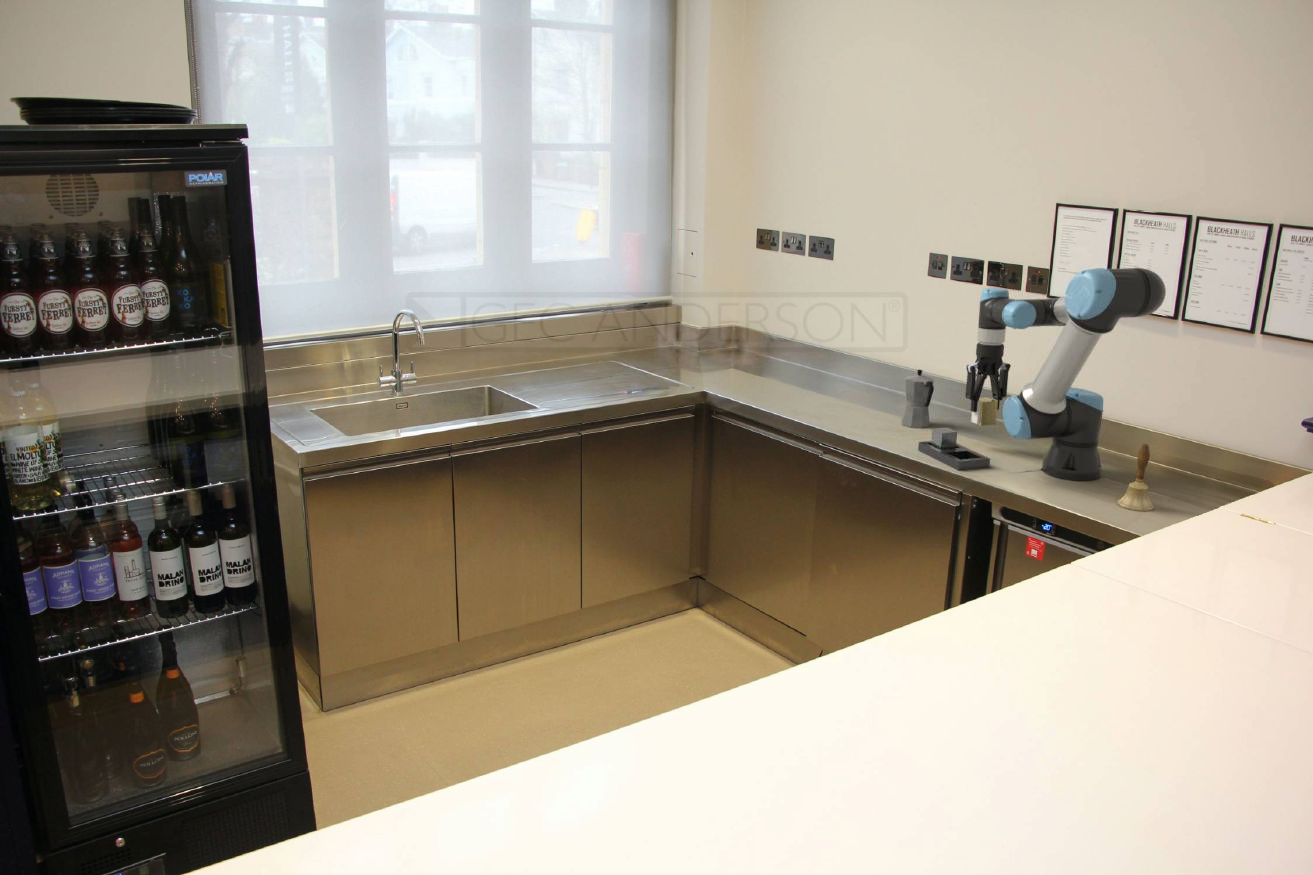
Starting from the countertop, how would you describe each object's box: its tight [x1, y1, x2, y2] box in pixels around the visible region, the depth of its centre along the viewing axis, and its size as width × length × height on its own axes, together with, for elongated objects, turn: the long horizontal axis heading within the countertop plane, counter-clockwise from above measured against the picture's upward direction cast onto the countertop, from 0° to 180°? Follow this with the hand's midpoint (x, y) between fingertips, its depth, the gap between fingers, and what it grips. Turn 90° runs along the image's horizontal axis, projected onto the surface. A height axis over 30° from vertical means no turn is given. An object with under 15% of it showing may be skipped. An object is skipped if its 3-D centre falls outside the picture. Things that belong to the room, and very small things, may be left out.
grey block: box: [930, 427, 958, 450], centre depth 291 cm, size 5×5×7 cm
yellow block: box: [970, 396, 998, 427], centre depth 295 cm, size 5×5×7 cm
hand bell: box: [1116, 443, 1154, 512], centre depth 250 cm, size 8×8×16 cm
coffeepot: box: [901, 369, 935, 429], centre depth 321 cm, size 15×9×18 cm, turn 14°
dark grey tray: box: [917, 440, 991, 471], centre depth 287 cm, size 20×10×3 cm, turn 18°
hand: (983, 421), depth 295 cm, fingers closed on yellow block, 5 cm apart
